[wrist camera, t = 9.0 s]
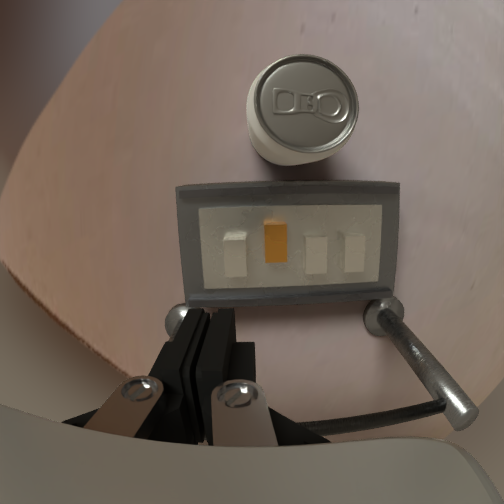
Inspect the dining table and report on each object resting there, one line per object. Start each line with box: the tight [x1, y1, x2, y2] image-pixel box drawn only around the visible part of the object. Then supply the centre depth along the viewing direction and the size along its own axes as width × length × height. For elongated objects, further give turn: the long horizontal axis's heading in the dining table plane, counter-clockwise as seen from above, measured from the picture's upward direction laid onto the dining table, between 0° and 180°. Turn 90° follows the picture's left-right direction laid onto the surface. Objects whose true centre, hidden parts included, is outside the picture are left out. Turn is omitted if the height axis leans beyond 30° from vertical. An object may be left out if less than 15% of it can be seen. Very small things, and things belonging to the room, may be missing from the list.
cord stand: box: [165, 296, 479, 440], centre depth 23 cm, size 24×4×17 cm, turn 92°
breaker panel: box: [176, 180, 400, 307], centre depth 26 cm, size 18×10×6 cm, turn 92°
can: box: [246, 54, 359, 166], centre depth 21 cm, size 6×6×12 cm
